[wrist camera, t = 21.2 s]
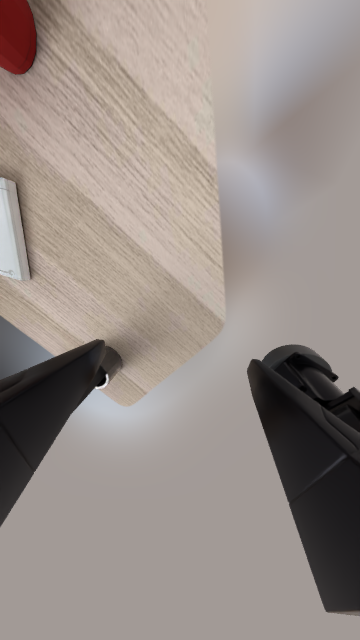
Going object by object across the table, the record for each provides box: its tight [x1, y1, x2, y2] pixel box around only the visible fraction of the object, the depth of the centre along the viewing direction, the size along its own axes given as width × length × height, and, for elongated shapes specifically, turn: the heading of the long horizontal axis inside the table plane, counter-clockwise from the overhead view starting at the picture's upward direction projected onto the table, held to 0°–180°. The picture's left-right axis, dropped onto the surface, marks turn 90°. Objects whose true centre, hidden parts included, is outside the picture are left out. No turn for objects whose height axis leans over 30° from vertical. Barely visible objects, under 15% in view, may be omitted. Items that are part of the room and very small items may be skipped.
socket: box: [95, 346, 122, 389], centre depth 26 cm, size 6×6×4 cm
